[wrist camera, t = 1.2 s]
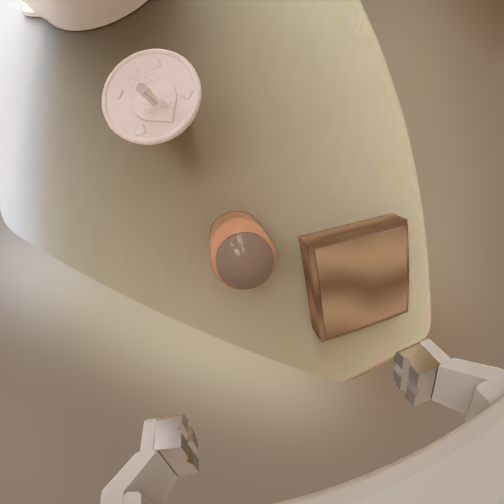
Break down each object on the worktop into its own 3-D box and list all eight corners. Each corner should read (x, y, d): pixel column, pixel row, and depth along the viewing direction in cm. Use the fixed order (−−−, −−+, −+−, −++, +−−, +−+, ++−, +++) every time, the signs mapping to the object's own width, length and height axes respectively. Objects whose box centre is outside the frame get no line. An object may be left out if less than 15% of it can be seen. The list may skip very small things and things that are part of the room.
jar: (203, 218, 29) (204, 239, 23) (255, 205, 30) (271, 222, 23) (216, 267, 31) (221, 299, 24) (266, 254, 31) (283, 283, 25)
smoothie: (160, 160, 27) (122, 171, 14) (119, 109, 25) (53, 82, 12) (216, 116, 26) (228, 87, 13) (174, 65, 24) (153, 0, 11)
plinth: (298, 236, 31) (309, 246, 28) (391, 213, 32) (408, 220, 29) (312, 327, 35) (322, 343, 32) (395, 300, 36) (409, 312, 33)
